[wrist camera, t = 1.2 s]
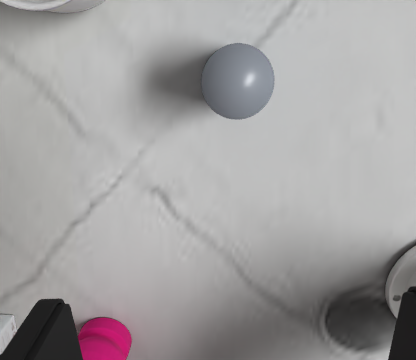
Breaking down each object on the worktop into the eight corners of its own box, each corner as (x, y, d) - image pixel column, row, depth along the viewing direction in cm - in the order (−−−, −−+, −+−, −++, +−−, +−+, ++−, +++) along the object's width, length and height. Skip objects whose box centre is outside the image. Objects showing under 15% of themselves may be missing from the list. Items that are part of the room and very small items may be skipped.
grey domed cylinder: (255, 40, 28) (267, 34, 21) (265, 99, 29) (279, 110, 23) (199, 55, 28) (193, 53, 22) (211, 111, 30) (210, 126, 23)
